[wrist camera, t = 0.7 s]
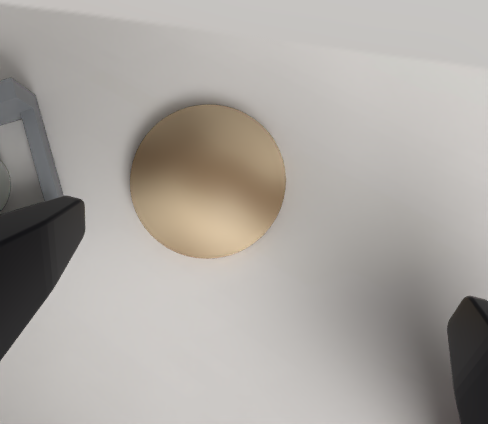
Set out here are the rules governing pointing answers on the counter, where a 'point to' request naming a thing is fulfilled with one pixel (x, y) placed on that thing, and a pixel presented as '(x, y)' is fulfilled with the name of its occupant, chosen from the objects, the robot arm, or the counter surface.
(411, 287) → the counter surface
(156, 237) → the coaster
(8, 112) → the socket frame
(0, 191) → the white jar with lid
